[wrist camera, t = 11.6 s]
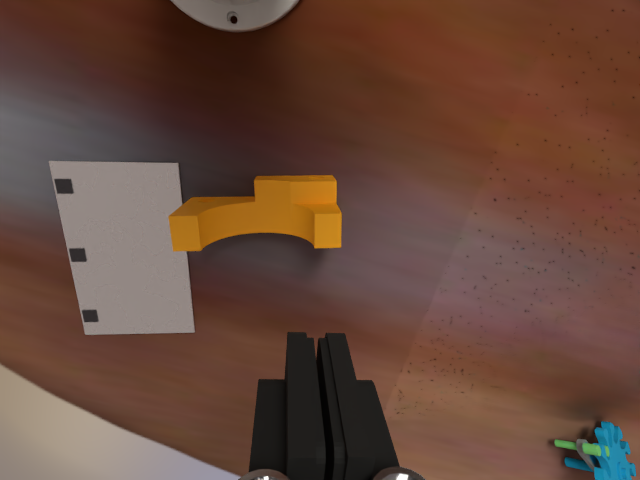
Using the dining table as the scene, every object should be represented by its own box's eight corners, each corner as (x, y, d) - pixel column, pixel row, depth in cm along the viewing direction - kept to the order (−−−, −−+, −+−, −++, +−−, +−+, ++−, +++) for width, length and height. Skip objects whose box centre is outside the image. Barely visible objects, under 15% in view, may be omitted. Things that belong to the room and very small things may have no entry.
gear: (643, 452, 44) (648, 548, 38) (586, 443, 48) (583, 528, 42) (604, 399, 40) (603, 496, 35) (547, 395, 45) (538, 480, 39)
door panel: (50, 160, 29) (47, 161, 29) (178, 162, 30) (177, 163, 29) (86, 333, 34) (84, 335, 34) (195, 331, 35) (194, 333, 35)
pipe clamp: (332, 174, 31) (342, 189, 25) (331, 223, 33) (340, 247, 27) (190, 176, 30) (164, 190, 24) (195, 225, 32) (173, 251, 26)
